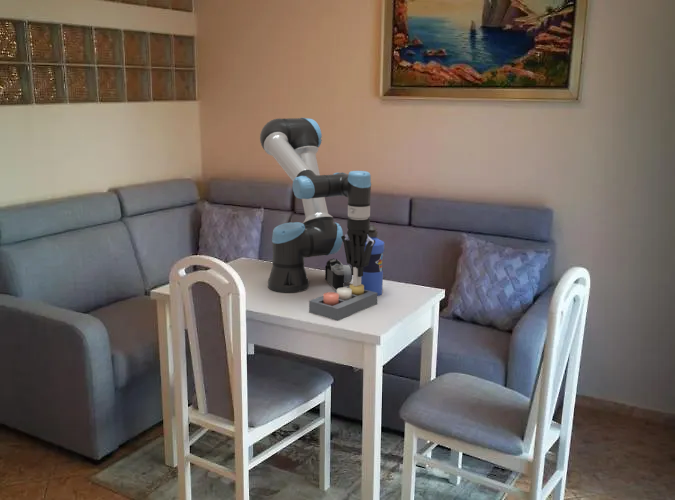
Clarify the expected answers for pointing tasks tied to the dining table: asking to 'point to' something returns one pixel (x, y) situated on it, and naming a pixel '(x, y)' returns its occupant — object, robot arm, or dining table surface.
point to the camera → (337, 273)
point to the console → (343, 305)
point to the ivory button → (344, 293)
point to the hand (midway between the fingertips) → (357, 285)
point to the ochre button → (357, 289)
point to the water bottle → (374, 265)
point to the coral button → (331, 298)
